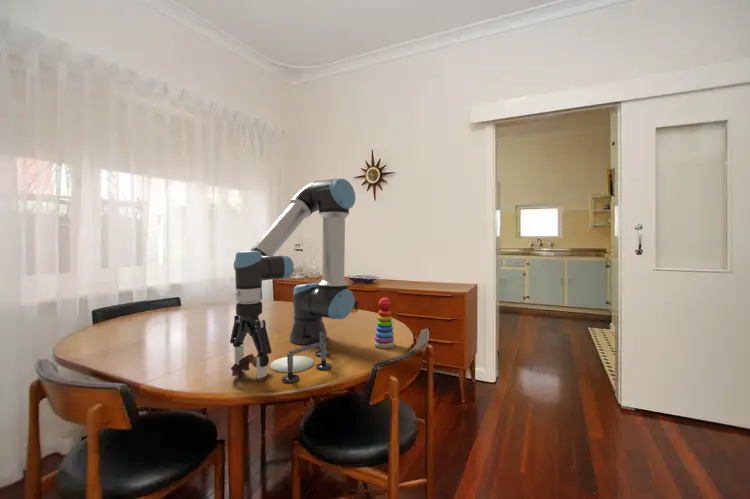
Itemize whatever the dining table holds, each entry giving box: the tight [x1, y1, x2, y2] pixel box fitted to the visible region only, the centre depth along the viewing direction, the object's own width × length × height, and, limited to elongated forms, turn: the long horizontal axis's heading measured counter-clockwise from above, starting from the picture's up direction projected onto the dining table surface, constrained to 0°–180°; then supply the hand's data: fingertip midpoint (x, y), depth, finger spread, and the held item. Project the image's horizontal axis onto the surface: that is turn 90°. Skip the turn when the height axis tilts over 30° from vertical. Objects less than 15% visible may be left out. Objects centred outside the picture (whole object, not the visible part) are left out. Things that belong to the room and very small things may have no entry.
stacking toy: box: [373, 297, 396, 349], centre depth 137 cm, size 8×8×19 cm
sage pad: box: [269, 355, 315, 374], centre depth 118 cm, size 14×14×1 cm
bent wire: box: [281, 331, 332, 384], centre depth 117 cm, size 15×26×8 cm, turn 139°
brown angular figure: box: [230, 353, 270, 383], centre depth 108 cm, size 12×10×8 cm
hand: (250, 371), depth 109 cm, fingers open, 12 cm apart
